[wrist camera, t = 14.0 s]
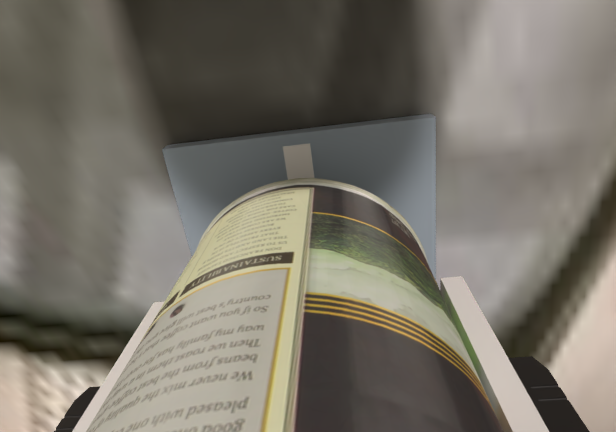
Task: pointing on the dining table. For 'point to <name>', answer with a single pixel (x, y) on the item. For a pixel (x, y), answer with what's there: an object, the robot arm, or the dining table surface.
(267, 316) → the coffee can
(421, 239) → the pad
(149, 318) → the robot arm
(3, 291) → the dining table surface
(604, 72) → the dining table surface
